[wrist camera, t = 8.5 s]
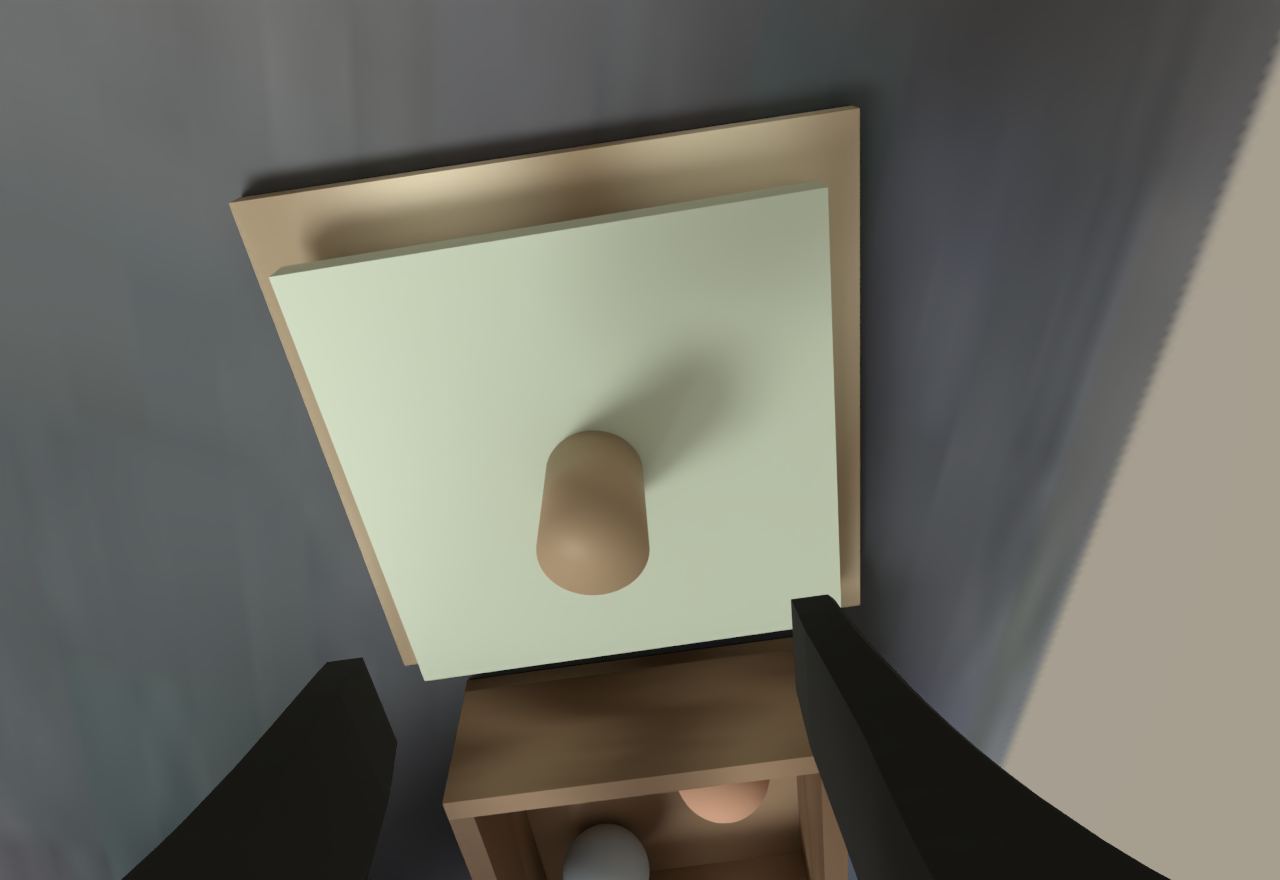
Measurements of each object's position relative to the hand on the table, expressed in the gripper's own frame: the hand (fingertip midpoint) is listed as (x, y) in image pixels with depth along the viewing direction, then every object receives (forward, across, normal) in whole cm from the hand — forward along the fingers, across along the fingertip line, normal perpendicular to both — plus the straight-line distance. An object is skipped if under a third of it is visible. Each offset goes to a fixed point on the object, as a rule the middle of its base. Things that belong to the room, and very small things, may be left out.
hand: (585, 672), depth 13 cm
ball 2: (+8, -2, +12) cm, 15 cm away
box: (+9, 0, +14) cm, 17 cm away
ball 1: (+8, +2, +16) cm, 18 cm away
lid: (+8, 0, 0) cm, 8 cm away
